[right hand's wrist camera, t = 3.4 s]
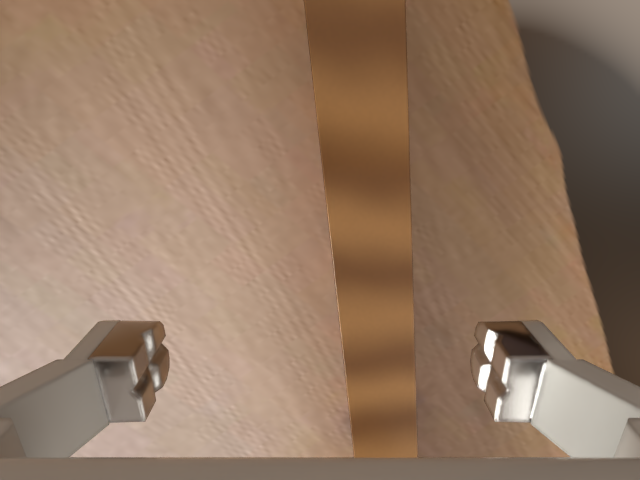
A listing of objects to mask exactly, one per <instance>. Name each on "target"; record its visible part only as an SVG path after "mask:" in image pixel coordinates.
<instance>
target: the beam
mask: <svg viewBox="0 0 640 480" xmlns="http://www.w3.org/2000/svg"><path fill="white" fill-rule="evenodd" d="M304 6H305V15H306V24H307V34H308V43H309V52H310V61H311V70H312V79H313V88H314V97H315V106H316V116H317V125H318V134H319V143H320V152H321V161H322V170H323V179H324V188H325V198H326V207H327V216H328V225H329V234H330V243H331V252H332V261H333V270H334V280H335V289H336V298H337V307H338V316H339V325H340V334H341V343H342V352H343V362H344V371H345V380H346V389H347V398H348V407H349V416H350V425H351V434H352V444H353V453H354V458H418V447H417V410H416V373H415V336H414V300H413V263H412V226H411V189H410V152H409V115H408V79H407V42H406V5H405V0H304Z"/></svg>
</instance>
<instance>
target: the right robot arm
mask: <svg viewBox="0 0 640 480" xmlns="http://www.w3.org/2000/svg"><path fill="white" fill-rule="evenodd" d="M165 336H166V335H165V330H164V325H163V324H162V323H161V322H160V321H120V320H112V321H100V322H98V323H97V324H96V325H95V326H94V327H93V328H92V329H91V330H90V331H89V332H88V334H87V335H86V336H85V337H84V338H83V339H82V340H81V341H80V342H79V343H78V344H77V345H76V347H75V348H74V349H73V350H72V351H71V352H70V353H69V354H68V355H67V356H66V357H65V359H64V360H55V361H53V362H51V363H49V364H47V365H45V366H43V367H41V368H39V369H36V370H34V371H32V372H30V373H28V374H26V375H24V376H22V377H20V378H18V379H16V380H14V381H12V382H9V383H7V384H5V385H3V386H1V387H0V480H640V387H639V386H637V385H635V384H632V383H630V382H628V381H626V380H624V379H622V378H620V377H618V376H616V375H614V374H612V373H610V372H608V371H606V370H603V369H601V368H599V367H597V366H595V365H593V364H591V363H589V362H587V361H585V360H576V359H575V357H574V356H573V355H572V354H571V353H570V352H569V351H568V350H567V349H566V348H565V347H564V345H563V344H562V343H561V342H560V341H559V340H558V339H557V338H556V337H555V336H554V335H553V334H552V332H551V331H550V330H549V329H548V328H547V327H546V326H545V325H544V324H543V323H542V322H540V321H538V320H529V321H501V322H478V324H477V326H476V329H475V334H474V336H475V338H476V339H477V341H478V344H477V345H476V346H475V347H474V348H473V349H472V352H471V360H470V363H471V373H472V376H473V380H474V382H475V384H476V386H477V387H478V388H479V389H481V390H482V391H484V392H485V397H484V402H485V403H486V405H487V407H488V409H489V411H490V413H491V415H492V417H493V419H494V421H495V422H529V423H531V425H532V426H534V427H535V428H536V429H537V430H539V431H540V432H541V433H542V434H543V435H545V436H546V437H547V438H548V439H549V440H551V441H552V442H553V443H554V444H556V445H557V446H558V447H559V448H560V449H562V450H563V451H564V452H565V453H567V454H568V455H569V456H570V457H553V458H277V457H192V458H72V457H70V456H71V455H72V454H74V453H75V452H76V451H77V450H78V449H80V448H81V447H82V446H83V445H85V444H86V443H87V442H88V441H89V440H91V439H92V438H93V437H94V436H96V435H97V434H98V433H99V432H100V431H102V430H103V429H104V428H105V427H107V426H108V425H109V423H111V422H145V421H146V419H147V417H148V415H149V413H150V411H151V409H152V407H153V405H154V403H155V402H156V397H155V392H156V391H158V390H159V389H161V388H162V387H163V386H164V384H165V382H166V379H167V376H168V371H169V352H168V349H167V348H166V347H165V346H164V345H163V344H162V341H163V339H164V338H165Z"/></svg>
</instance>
